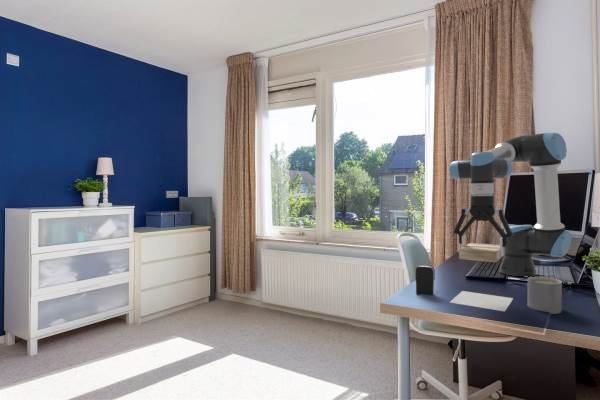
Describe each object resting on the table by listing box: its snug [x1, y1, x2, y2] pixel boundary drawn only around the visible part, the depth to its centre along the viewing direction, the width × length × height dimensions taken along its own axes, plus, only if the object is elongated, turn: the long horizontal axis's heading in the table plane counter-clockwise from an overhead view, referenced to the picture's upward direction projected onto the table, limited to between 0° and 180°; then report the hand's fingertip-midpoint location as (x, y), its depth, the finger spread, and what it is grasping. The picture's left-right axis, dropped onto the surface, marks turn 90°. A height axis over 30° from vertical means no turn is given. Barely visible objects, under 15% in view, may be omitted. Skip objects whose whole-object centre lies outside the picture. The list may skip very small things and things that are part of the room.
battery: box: [415, 264, 436, 296], centre depth 153 cm, size 7×4×11 cm, turn 58°
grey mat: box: [449, 290, 514, 313], centre depth 143 cm, size 18×18×1 cm
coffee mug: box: [526, 276, 563, 315], centre depth 135 cm, size 13×10×10 cm
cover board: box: [458, 242, 505, 263], centre depth 142 cm, size 16×12×4 cm
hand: (482, 254), depth 142 cm, fingers closed on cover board, 12 cm apart
